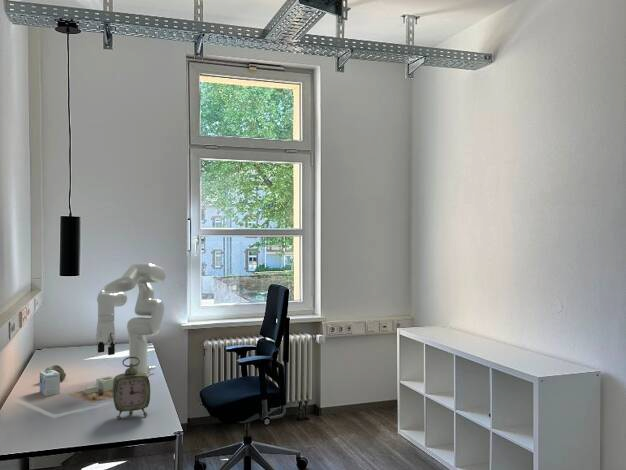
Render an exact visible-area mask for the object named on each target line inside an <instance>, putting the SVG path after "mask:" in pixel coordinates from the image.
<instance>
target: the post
mask: <svg viewBox="0 0 626 470" xmlns="http://www.w3.org/2000/svg"><path fill="white" fill-rule="evenodd" d="M102 395H103V382H99V396H102Z"/></svg>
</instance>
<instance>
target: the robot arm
mask: <svg viewBox="0 0 626 470" xmlns="http://www.w3.org/2000/svg"><path fill="white" fill-rule="evenodd" d="M166 275H167V274H166V271H165V268H163V267H162V266H159V265H155V264H154V263H153V264H152V263H149V262H148V263H139V262H138V263H134V264H131V265H130V266H129V268H128V269H126V271H125V272H124V273H123V275H122V276H121V277H118V278H117V279H115V280H112V281H111V282H109V283H107V284H106V285H104V286H103V288H102V289H100V291H99V293H98V294H97V296H96V302H97V326H96V335H95V337H96V341H97V342H96V343H97V354H98V353H104V352H105V343H106V344H107V345H108V347H107V355H108V356H113V355H115V354H116V352H115V350H116V349H115V347H116V344H117V337H116V327H115V307H124V306H125V304H126V303H127V301H128V296H127V294H126V292H129V291H131V290H133V289H134V288H135V287H136V286H137V287H138V293H137V294H138V295H137V298H136V303H135V307H134V314H135V315H136V316H139V317H132V318H130V319H129V320H128V322H127V324H126V329H127V334H128V346H129V347H128V350H129V351H128V355H129V356H128V357H137V358H138V359H139V360H140V363H139V364H138V365H137V366H134V368H136V370H137V372H143V373H145V374H146V375H147V377H149V376H150V375H151V371H153V370H156V366H155V365H152V366H150V365H149V366H148V341H147V338H146V336H156V335H158V334H159V332H160V329H161V326H162V322H163V317H164V313H165V305H164V302H163V301H162V300H161V299H156V298H155V299H154V297H155V290H154V287H153V286H152V285H151V283H154V284H155V283H156V284H157V283H158V284H159V283H162V282H164V281H165V280H166V277H167V276H166ZM128 361H129V362H128V364H129V365H130V364H131V363H132V365H135V364H137V363H138V362H139V361H138V360H137V359H135V358H130V359H128ZM128 368H130V367H128Z"/></svg>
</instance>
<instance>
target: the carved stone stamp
mask: <svg viewBox="0 0 626 470" xmlns="http://www.w3.org/2000/svg"><path fill="white" fill-rule="evenodd" d="M49 370H55V371H57V372H58V373H60V383H62V382H64V380H65V379H66V376H67V374H66V372H65V370H64V369H63V367H62V366H60V365H58V364H55V365H52V366H49V367H46V368H45V370H44V371H49Z"/></svg>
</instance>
